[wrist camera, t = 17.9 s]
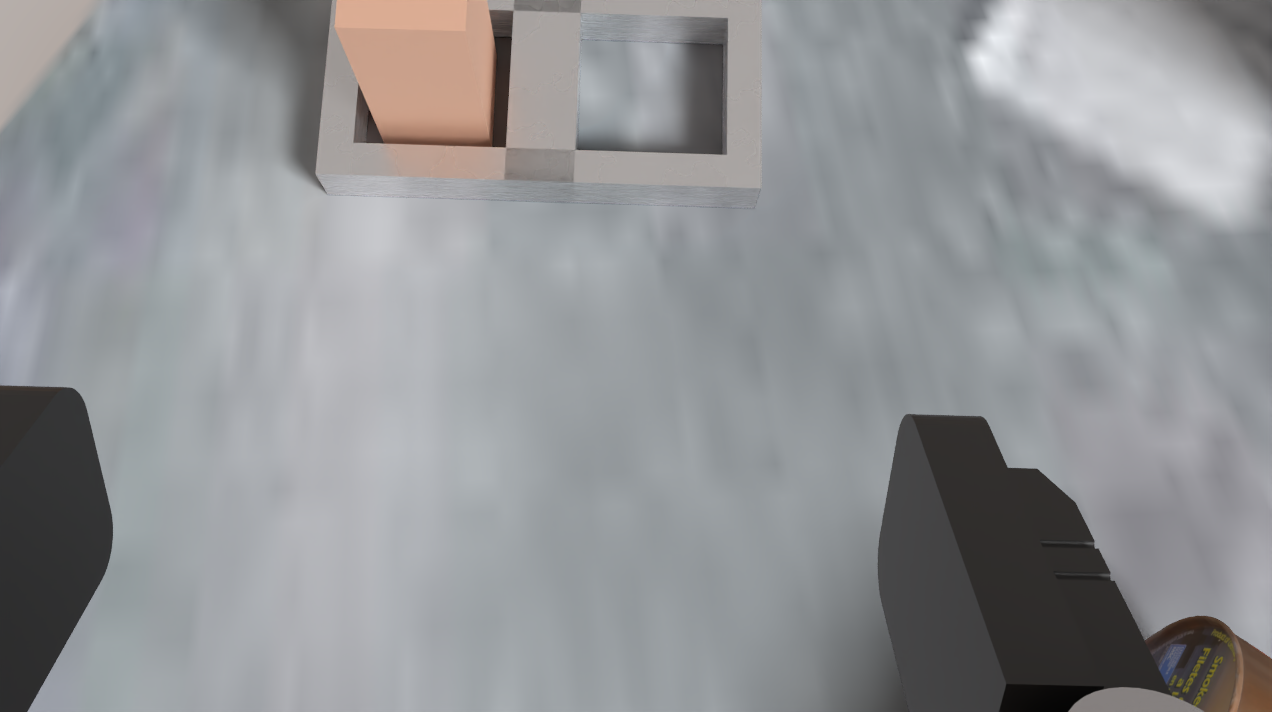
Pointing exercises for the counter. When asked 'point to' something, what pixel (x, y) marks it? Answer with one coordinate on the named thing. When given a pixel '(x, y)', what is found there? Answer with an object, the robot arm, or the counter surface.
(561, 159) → the grey flat frame
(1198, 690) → the tin
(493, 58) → the peg
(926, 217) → the counter surface
